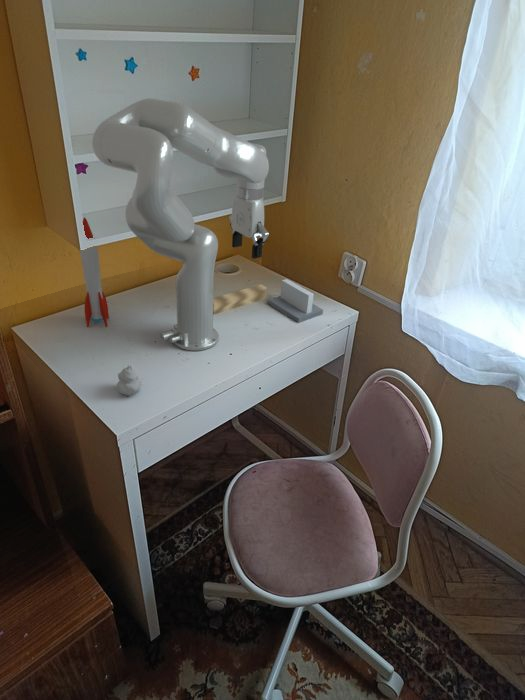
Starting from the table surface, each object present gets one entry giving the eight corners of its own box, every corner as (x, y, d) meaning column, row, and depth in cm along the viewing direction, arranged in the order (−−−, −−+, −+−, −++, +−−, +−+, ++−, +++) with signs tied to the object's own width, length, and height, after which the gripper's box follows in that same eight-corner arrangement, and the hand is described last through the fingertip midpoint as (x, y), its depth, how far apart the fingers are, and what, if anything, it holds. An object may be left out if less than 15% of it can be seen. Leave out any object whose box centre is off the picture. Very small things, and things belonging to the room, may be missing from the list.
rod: (213, 315, 148) (214, 303, 146) (208, 311, 150) (208, 299, 148) (266, 299, 159) (267, 287, 157) (260, 295, 161) (261, 284, 159)
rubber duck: (127, 402, 112) (124, 373, 108) (110, 389, 116) (107, 360, 111) (147, 393, 115) (145, 364, 111) (131, 380, 119) (128, 352, 115)
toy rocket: (107, 327, 138) (95, 221, 122) (86, 327, 137) (71, 221, 121) (109, 317, 143) (98, 214, 126) (89, 317, 142) (75, 213, 126)
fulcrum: (298, 322, 147) (301, 300, 143) (268, 304, 156) (270, 282, 152) (322, 314, 153) (325, 292, 149) (292, 296, 162) (294, 275, 157)
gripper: (220, 186, 140) (219, 244, 149) (258, 202, 129) (254, 264, 138) (242, 183, 144) (239, 240, 153) (280, 199, 133) (275, 259, 142)
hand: (246, 251), depth 146 cm, fingers open, 9 cm apart
